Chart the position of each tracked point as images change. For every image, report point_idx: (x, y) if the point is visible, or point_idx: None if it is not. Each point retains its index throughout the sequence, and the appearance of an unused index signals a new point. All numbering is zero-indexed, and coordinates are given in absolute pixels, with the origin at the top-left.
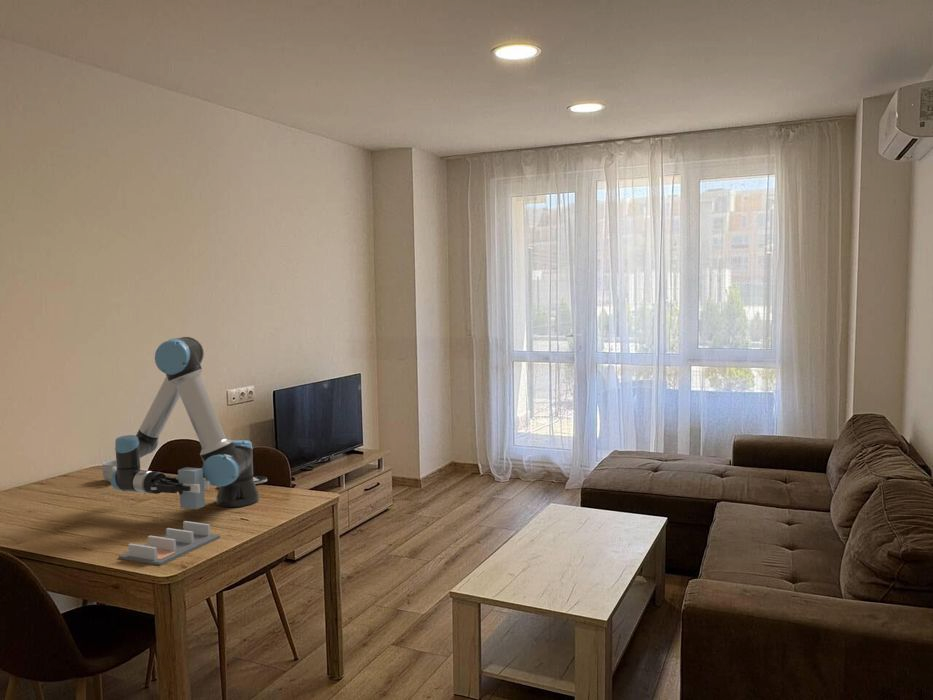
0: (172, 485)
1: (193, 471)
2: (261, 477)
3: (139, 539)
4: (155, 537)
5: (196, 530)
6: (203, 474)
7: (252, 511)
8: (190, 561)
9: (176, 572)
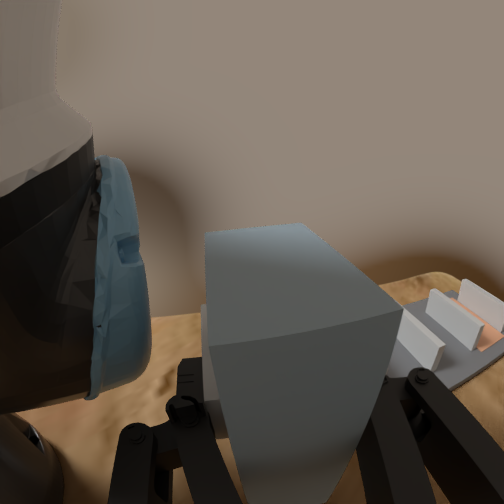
0: (433, 392)
1: (303, 226)
2: None
3: (491, 432)
4: (468, 312)
5: None
6: (148, 330)
7: (94, 402)
8: (408, 286)
9: (431, 273)
